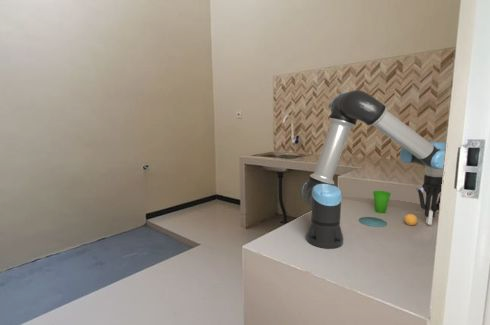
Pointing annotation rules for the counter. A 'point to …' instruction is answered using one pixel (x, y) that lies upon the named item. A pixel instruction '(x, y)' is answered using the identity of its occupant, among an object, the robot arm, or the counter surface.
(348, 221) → the counter surface
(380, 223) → the teal ellipsoid
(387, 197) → the green tapered cylinder
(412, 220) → the ball
